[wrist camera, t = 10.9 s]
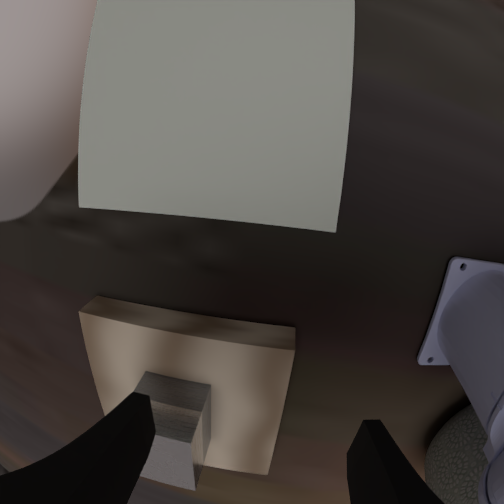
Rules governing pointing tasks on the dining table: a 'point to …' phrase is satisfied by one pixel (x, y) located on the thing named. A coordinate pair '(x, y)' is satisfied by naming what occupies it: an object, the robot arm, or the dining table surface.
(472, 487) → the planter
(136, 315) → the stand
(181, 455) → the block
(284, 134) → the stand
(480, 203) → the dining table surface
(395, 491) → the robot arm
